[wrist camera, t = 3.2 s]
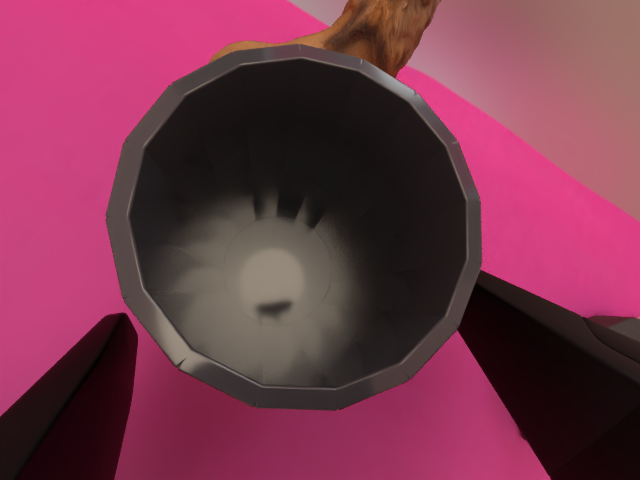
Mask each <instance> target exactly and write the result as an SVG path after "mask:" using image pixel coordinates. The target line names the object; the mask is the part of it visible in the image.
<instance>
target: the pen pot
mask: <svg viewBox="0 0 640 480" xmlns="http://www.w3.org/2000/svg"><path fill="white" fill-rule="evenodd" d="M106 217H107V218H106V224H107V229H108V233H109V238H110V243H111V247H112V252H113V257H114V261H115V266H116V271H117V275H118V280H119V285H120V289H121V294H122V298H123V299H124V302H125V303H126V305H127V306H128V307H129V309H130V310H131V311H132V312H133V314H134V315H135V316H136V318H137V319H138V320H139V321H140V323H141V324H142V325H143V327H144V328H145V329H146V330H147V332H148V333H149V334H150V336H151V337H152V338H153V339H154V341H155V342H156V343H157V345H158V346H159V347H160V348H161V350H162V351H163V352H164V354H165V355H166V356H167V357H168V359H169V360H170V361H171V363H172V364H173V365H174V366H175V367H176V368H177V367H178V370H180V371H182V372H184V373H186V374H188V375H190V376H192V377H194V378H196V379H198V380H200V381H202V382H203V383H205V384H207V385H209V386H211V387H213V388H215V389H217V390H219V391H221V392H223V393H225V394H227V395H229V396H231V397H233V398H235V399H237V400H239V401H241V402H243V403H245V404H247V405H249V406H251V407H254V406H255V407H256V408H266V409H297V410H329V411H336V410H337V409H338V410H341V409H343V408H345V407H348V406H350V405H353V404H355V403H357V402H360V401H362V400H364V399H367V398H369V397H372V396H374V395H376V394H379V393H381V392H383V391H386V390H388V389H391V388H393V387H395V386H398V385H400V384H402V383H405V382H407V381H408V380H410V379H411V378H412V377H413V376H414V375H415V374H416V373H417V372H418V371H419V370H420V369H421V368H422V367H423V366H424V365H425V364H426V362H427V361H428V360H429V359H430V358H431V357H432V356H433V355H434V354H435V353H436V352H437V351H438V350H439V349H440V347H441V346H442V345H443V344H444V343H445V342H446V341H447V340H448V339H449V338H450V337H451V336H452V335H453V334H454V333H455V331H456V330H457V329H458V328H457V327H459V326H460V323H461V320H462V318H463V315H464V312H465V310H466V307H467V304H468V301H469V299H470V296H471V293H472V291H473V288H474V285H475V282H476V280H477V277H478V274H479V271H480V269H481V264H482V239H481V201H480V197H479V194H478V192H477V189H476V187H475V184H474V181H473V179H472V176H471V174H470V171H469V168H468V166H467V163H466V161H465V158H464V155H463V153H462V150H461V148H460V145H459V142H457V139H456V138H455V137H454V135H453V134H452V133H451V132H450V131H449V129H448V128H447V127H446V126H445V125H444V123H443V122H442V121H441V120H440V119H439V118H438V116H437V115H436V114H435V113H434V112H433V110H432V109H431V108H430V107H429V106H428V104H427V103H426V102H425V101H424V100H423V98H422V97H421V96H420V95H419V94H418V93H416V91H415V90H413V89H411V88H410V87H408V86H407V85H405V84H403V83H402V82H400V81H399V80H397V79H395V78H394V77H392V76H391V75H389V74H387V73H386V72H384V71H382V70H381V69H379V68H378V67H376V66H374V65H373V64H371V63H370V62H368V61H366V60H365V59H363V60H362V58H359V57H355V56H351V55H346V54H342V53H338V52H334V51H329V50H325V49H321V48H317V47H312V46H308V45H304V44H300V45H299V44H291V45H282V46H273V47H264V48H255V49H246V50H237V51H234V52H230V53H228V54H226V55H224V56H222V57H220V58H218V59H216V60H214V61H213V62H211V63H209V64H207V65H205V66H203V67H201V68H199V69H197V70H195V71H193V72H192V73H190V74H188V75H186V76H184V77H182V78H180V79H178V80H176V81H174V82H173V83H172V85H169V86H168V87H167V89H166V90H165V91H164V92H163V93H162V95H161V96H160V97H159V98H158V100H157V101H156V102H155V103H154V105H153V106H152V107H151V108H150V110H149V111H148V112H147V113H146V114H145V116H144V117H143V118H142V119H141V121H140V122H139V123H138V124H137V126H136V127H135V128H134V129H133V131H132V132H131V133H130V134H129V135H128V137H127V138H126V139H125V142H124V143H123V147H122V151H121V155H120V159H119V163H118V167H117V171H116V175H115V179H114V184H113V188H112V192H111V196H110V200H109V204H108V208H107V212H106Z"/></svg>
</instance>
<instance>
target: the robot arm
mask: <svg viewBox="0 0 640 480" xmlns="http://www.w3.org/2000/svg"><path fill="white" fill-rule="evenodd" d="M457 328H458V329H457V330H458V332H459V333H460V335H461V337H462V338H463V340H464V341H465V343H466V345H467V346H468V348H469V349H470V351H471V353H472V354H473V356H474V357H475V359H476V360H477V362H478V364H479V365H480V367H481V368H482V370H483V372H484V373H485V375H486V376H487V378H488V380H489V381H490V383H491V384H492V386H493V388H494V389H495V391H496V392H497V394H498V396H499V397H500V399H501V400H502V402H503V403H504V405H505V407H506V408H507V410H508V411H509V413H510V415H511V416H512V418H513V419H514V421H515V423H516V424H517V426H518V427H519V429H520V431H521V432H522V434H523V435H524V437H525V439H526V440H527V442H528V443H529V445H530V446H531V448H532V450H533V451H534V453H535V454H536V456H537V458H538V459H539V461H540V462H541V464H542V466H543V467H544V469H545V470H546V472H547V474H548V475H549V476H550V479H551V480H640V342H639V341H637V340H635V339H632V338H630V337H627V336H625V335H623V334H620V333H618V332H616V331H614V330H611V329H609V328H607V327H605V326H602V325H600V324H598V323H596V322H594V321H591V320H589V319H587V318H585V317H581V316H580V315H578V314H576V313H574V312H572V311H570V310H567V309H565V308H563V307H561V306H559V305H556V304H554V303H552V302H550V301H548V300H546V299H543V298H541V297H539V296H537V295H535V294H532V293H530V292H528V291H526V290H524V289H522V288H519V287H517V286H515V285H513V284H511V283H508V282H506V281H504V280H502V279H500V278H498V277H495V276H493V275H491V274H489V273H487V272H484V271H482V270H480V271H479V274H478V277H477V280H476V282H475V285H474V288H473V291H472V293H471V296H470V299H469V301H468V304H467V307H466V310H465V312H464V315H463V318H462V320H461V323H460V326H459V327H457ZM137 346H138V335H137V332H136V330H135V328H134V326H133V324H132V322H131V321H130V319H129V317H128V315H127V314H126V313H116V314H110V315H107V316H105V317H104V318H103V319H101V320H100V321H99V322H98V323H97V324H96V325H95V326H94V327H93V328H92V329H91V330H90V331H89V332H88V333H87V334H86V335H85V336H84V337H83V338H82V339H81V340H80V341H79V342H78V343H77V344H75V345H74V346H73V347H72V348H71V349H70V350H69V351H68V352H67V353H66V354H65V355H64V356H63V357H62V358H61V359H60V360H59V361H58V362H57V363H56V364H55V365H54V366H53V367H52V368H50V369H49V370H48V371H47V372H46V373H45V374H44V375H43V376H42V377H41V378H40V379H39V380H38V381H37V382H36V383H35V384H34V385H33V386H32V387H31V388H30V389H29V390H28V391H27V392H26V393H24V394H23V395H22V396H21V397H20V398H19V399H18V400H17V401H16V402H15V403H14V404H13V405H12V406H11V407H10V408H9V409H8V410H7V411H6V412H5V413H4V414H3V415H2V416H1V417H0V480H114V478H115V474H116V469H117V465H118V460H119V456H120V451H121V447H122V442H123V438H124V434H125V429H126V425H127V420H128V416H129V411H130V406H131V401H132V394H133V386H134V376H135V366H136V356H137Z"/></svg>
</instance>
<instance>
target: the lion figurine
mask: <svg viewBox="0 0 640 480" xmlns="http://www.w3.org/2000/svg"><path fill="white" fill-rule="evenodd" d="M440 1H441V0H349V1H348V2H347V4H346V6H345V8H344V11H343V13H342V15H341V16H340V17H339V18H338V19H337V20H336V21H335V23H334V24H333V25H332V26H331V27H329V28H327V29H325V30H323V31H320V32H318V33H314V34H310V35H307V36H303V37H299V38H296V39H294V40H292V41H289V42H285V43H278V44H271V43H264V42H258V41H240V42H235V43H231V44H229V45H227V46H226V47H224V48H223V49H221V50H220V51H218V52H217V53H216V54H214V55H213V56H212V58H211V60H210V62H209V63H211V62H213V61H214V60H216V59H218V58H220V57H222V56H224V55H226V54H228V53H230V52H234V51H237V50H246V49H255V48H264V47H273V46H282V45H291V44H299V45H300V44H304V45H308V46H312V47H317V48H321V49H325V50H329V51H334V52H338V53H342V54H346V55H351V56H355V57H359V58H362V60H363V59H365V60H366V61H368V62H370V63H371V64H373V65H374V66H376V67H378V68H379V69H381V70H382V71H384V72H386V73H387V74H389V75H391V76H392V77H394V78H396V76H397V74H398V72H399V70H400V69H402V68H403V67H404V66H405V65H406V63H407V62H408V60H409V59H410V58H411V56H412V54H413V52H414V50H415V49H416V47H417V46H418V44H419V42H420V40H421V37H422V34H423V31H424V30H425V29H426V28H427V26H429V24H430V23H431V21H432V19H433V17H434V14H435V10H436V7H437V5H438V4H439V3H440Z"/></svg>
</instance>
